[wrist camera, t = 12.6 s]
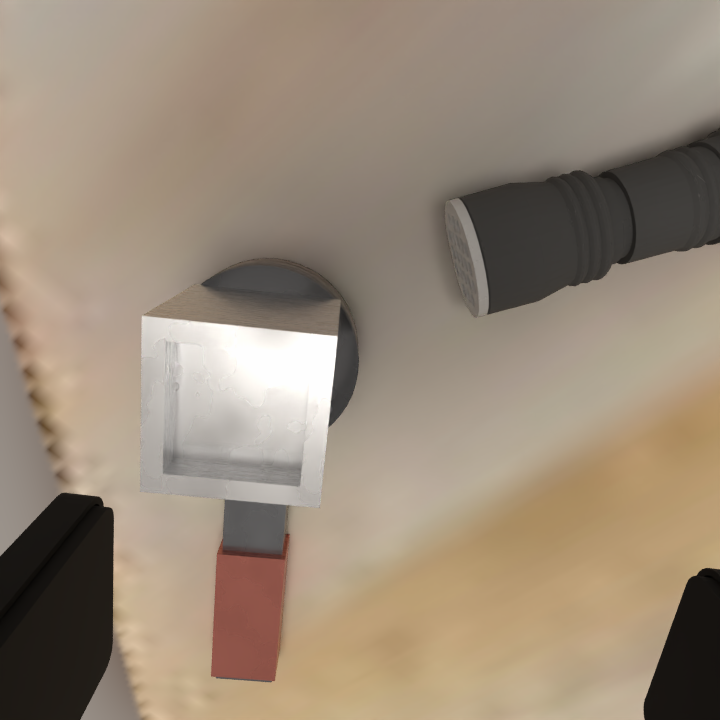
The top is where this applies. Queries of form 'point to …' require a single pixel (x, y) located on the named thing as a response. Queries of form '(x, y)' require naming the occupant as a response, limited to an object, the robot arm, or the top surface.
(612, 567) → the top surface
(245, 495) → the socket
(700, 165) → the flashlight
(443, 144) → the top surface
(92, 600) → the robot arm
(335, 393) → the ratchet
